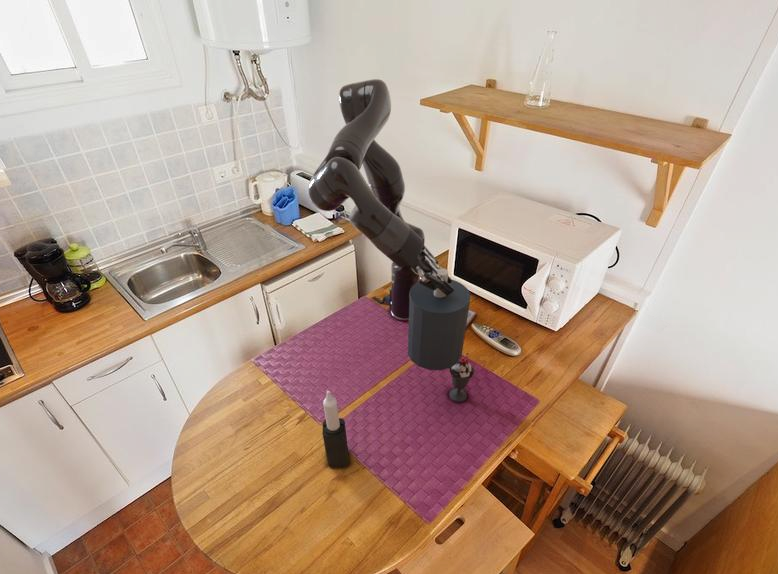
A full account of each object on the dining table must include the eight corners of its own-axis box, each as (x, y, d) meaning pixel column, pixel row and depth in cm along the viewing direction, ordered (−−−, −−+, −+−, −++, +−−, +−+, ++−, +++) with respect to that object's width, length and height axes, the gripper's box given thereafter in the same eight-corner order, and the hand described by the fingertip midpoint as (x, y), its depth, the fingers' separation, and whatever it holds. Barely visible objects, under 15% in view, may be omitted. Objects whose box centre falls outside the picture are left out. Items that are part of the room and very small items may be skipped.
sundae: (469, 387, 124) (475, 348, 114) (470, 405, 119) (477, 366, 109) (446, 385, 125) (450, 347, 115) (446, 403, 120) (451, 365, 110)
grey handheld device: (477, 312, 151) (479, 305, 149) (458, 336, 141) (459, 329, 139) (460, 306, 153) (461, 299, 151) (440, 330, 143) (441, 323, 141)
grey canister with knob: (396, 349, 110) (397, 270, 94) (433, 326, 116) (440, 248, 100) (435, 379, 102) (443, 298, 86) (473, 352, 108) (487, 272, 93)
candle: (328, 450, 108) (316, 383, 92) (348, 449, 109) (340, 381, 92) (327, 468, 105) (315, 401, 88) (348, 466, 105) (340, 399, 88)
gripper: (382, 235, 95) (433, 280, 103) (383, 269, 84) (440, 316, 93) (406, 212, 91) (458, 260, 100) (411, 244, 81) (468, 296, 89)
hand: (449, 287), depth 96 cm, fingers closed on grey canister with knob, 3 cm apart
